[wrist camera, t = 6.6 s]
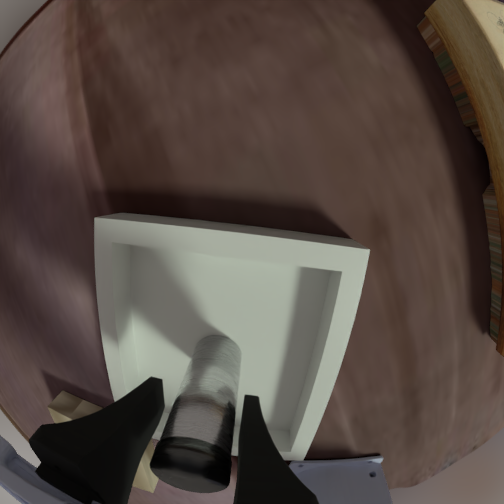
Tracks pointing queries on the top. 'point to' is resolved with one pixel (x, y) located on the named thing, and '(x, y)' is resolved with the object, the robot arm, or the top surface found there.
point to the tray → (229, 311)
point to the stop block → (74, 408)
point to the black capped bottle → (202, 420)
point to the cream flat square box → (477, 107)
